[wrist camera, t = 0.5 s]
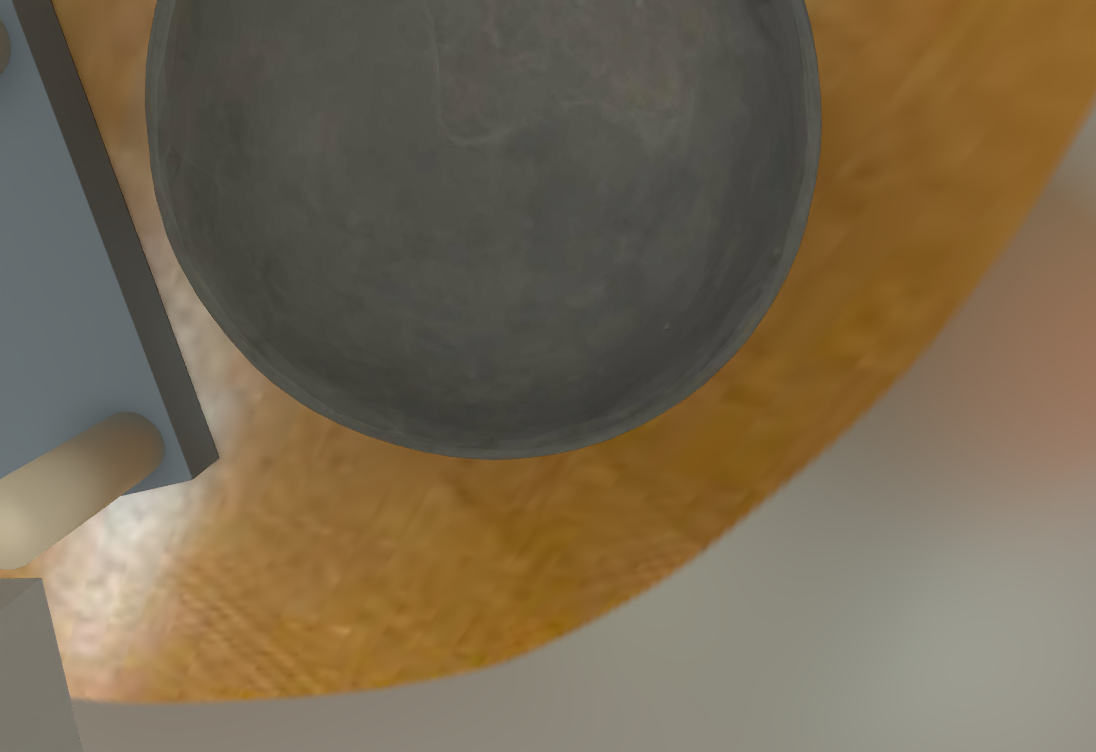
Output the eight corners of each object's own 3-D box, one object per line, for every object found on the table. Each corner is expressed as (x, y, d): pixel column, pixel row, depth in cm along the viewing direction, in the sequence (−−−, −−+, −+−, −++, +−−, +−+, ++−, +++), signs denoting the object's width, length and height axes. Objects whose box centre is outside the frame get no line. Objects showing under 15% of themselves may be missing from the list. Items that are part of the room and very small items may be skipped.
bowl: (301, -254, 34) (198, -358, 26) (878, -95, 33) (944, -154, 26) (205, 314, 40) (99, 363, 32) (691, 456, 39) (699, 541, 32)
